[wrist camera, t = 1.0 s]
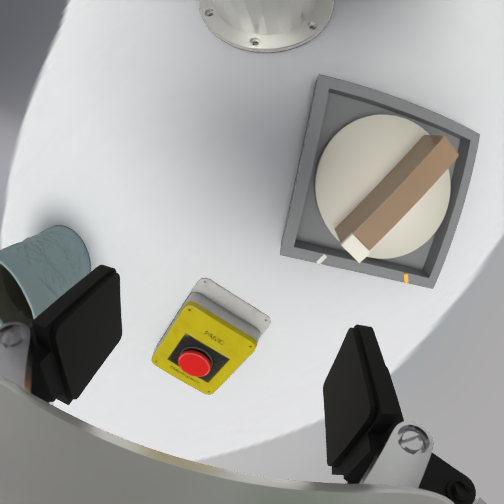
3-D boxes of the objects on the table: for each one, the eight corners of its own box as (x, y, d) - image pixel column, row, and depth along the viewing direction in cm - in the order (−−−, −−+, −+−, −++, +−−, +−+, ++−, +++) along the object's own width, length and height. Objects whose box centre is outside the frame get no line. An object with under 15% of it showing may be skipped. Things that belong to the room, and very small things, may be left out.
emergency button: (140, 373, 34) (191, 291, 29) (152, 352, 38) (203, 272, 33) (203, 409, 35) (272, 340, 30) (211, 386, 39) (274, 317, 34)
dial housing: (316, 80, 24) (319, 73, 21) (464, 133, 23) (481, 134, 20) (281, 243, 30) (279, 256, 27) (422, 276, 29) (433, 290, 26)
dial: (380, 86, 22) (401, 75, 17) (465, 189, 24) (496, 202, 19) (284, 187, 27) (282, 200, 21) (378, 278, 29) (394, 307, 23)
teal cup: (94, 228, 32) (24, 270, 21) (98, 302, 36) (45, 356, 25) (37, 215, 32) (-29, 247, 21) (44, 282, 36) (-10, 325, 25)
